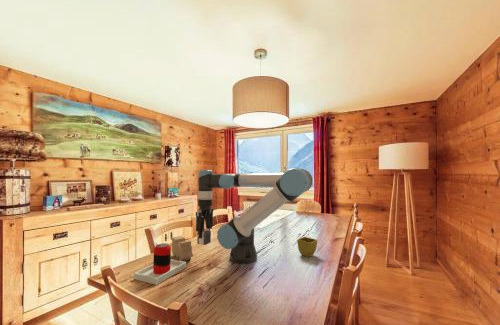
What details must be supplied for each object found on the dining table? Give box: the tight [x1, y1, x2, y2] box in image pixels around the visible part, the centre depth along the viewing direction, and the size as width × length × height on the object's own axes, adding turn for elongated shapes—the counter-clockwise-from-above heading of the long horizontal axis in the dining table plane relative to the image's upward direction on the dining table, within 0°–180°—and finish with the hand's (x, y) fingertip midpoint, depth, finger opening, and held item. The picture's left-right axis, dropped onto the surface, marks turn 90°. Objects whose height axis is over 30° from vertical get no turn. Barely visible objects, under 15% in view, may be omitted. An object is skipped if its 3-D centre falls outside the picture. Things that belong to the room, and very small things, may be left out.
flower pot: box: [296, 236, 318, 258], centre depth 131 cm, size 9×9×9 cm
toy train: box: [171, 235, 194, 262], centre depth 126 cm, size 6×17×10 cm, turn 39°
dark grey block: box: [196, 230, 212, 246], centre depth 121 cm, size 5×5×6 cm
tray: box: [133, 258, 187, 286], centre depth 107 cm, size 13×19×2 cm
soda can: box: [152, 242, 172, 274], centre depth 107 cm, size 8×8×12 cm
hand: (204, 242), depth 121 cm, fingers closed on dark grey block, 5 cm apart
